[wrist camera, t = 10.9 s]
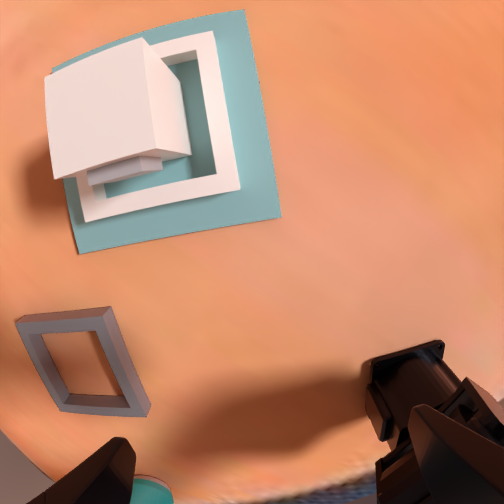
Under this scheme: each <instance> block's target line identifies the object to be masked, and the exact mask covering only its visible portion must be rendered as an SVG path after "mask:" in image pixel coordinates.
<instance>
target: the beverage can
mask: <svg viewBox="0 0 504 504" xmlns="http://www.w3.org/2000/svg"><path fill="white" fill-rule="evenodd" d="M130 504H173V497H172V493H171V490H170V488H169V486H168V485H167V484H166V483H164V482H163V481H161V480H159V479H157V478H154V477H150V476H145V475H136V476H134V481H133V490H132V496H131V501H130Z"/></svg>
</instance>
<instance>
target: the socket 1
mask: <svg viewBox="0 0 504 504" xmlns="http://www.w3.org/2000/svg"><path fill="white" fill-rule="evenodd" d="M15 325H16V327H17V329H18V332H19V334H20V336H21V339H22V341H23V343H24V345H25V347H26V349H27V352H28V354H29V356H30V358H31V360H32V362H33V364H34V366H35V368H36V370H37V372H38V373H39V375H40V377H41V379H42V381H43V383H44V384H45V386H46V388H47V390H48V392H49V393H50V395H51V397H52V398H53V400H54V402H55V403H56V405H57V407H58V408H59V410H60V411H62V412H70V413H79V414H90V415H103V416H121V417H147V415H148V413H149V410H150V407H151V403H150V401H149V399H148V397H147V395H146V393H145V390H144V388H143V386H142V384H141V382H140V379H139V377H138V375H137V372H136V370H135V368H134V365H133V363H132V360H131V358H130V356H129V353H128V351H127V348H126V346H125V343H124V340H123V338H122V335H121V333H120V330H119V327H118V324H117V322H116V319H115V316H114V313H113V310H112V307H111V306H110V307H101V308H92V309H83V310H74V311H64V312H54V313H43V314H33V315H24V316H23V317H22V318H21V319H19V320H18V321H17V322H16V323H15ZM83 331H96V333H97V336H98V338H99V341H100V343H101V346H102V348H103V351H104V353H105V355H106V358H107V360H108V362H109V364H110V367H111V369H112V371H113V373H114V375H115V377H116V380H117V382H118V384H119V386H120V388H121V390H122V392H123V394H124V396H102V395H81V394H70V393H69V391H68V389H67V387H66V386H65V384H64V382H63V380H62V378H61V376H60V374H59V372H58V370H57V368H56V366H55V364H54V362H53V360H52V358H51V356H50V354H49V352H48V350H47V348H46V345H45V343H44V341H43V339H42V336H41V334H47V333H67V332H83Z"/></svg>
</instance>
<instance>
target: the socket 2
mask: <svg viewBox="0 0 504 504" xmlns="http://www.w3.org/2000/svg"><path fill="white" fill-rule="evenodd" d="M141 37H143V39H144V40H145V41H146V42H147V43H148V44H149V46H150V47H151V48H152V49H153V50H154V51H155V53H156V54H157V55H158V56H159V57H160V58H161V60H162V61H163V62H164V63H165V64H166V65H167V67H168V68H169V69H170V70H171V71H172V73H173V74H174V75H175V76H176V77H177V79H178V80H179V81H180V82H181V87H182V93H183V100H184V106H185V113H186V119H187V125H188V131H189V137H190V143H191V149H192V155H191V156H187V157H182V158H177V159H173V160H169V161H164V162H162V167H163V170H161V171H157V172H152V173H148V174H144V175H140V176H136V177H132V178H128V179H125V180H121V181H117V182H110V183H104V184H98V185H92V186H89V183H88V178H87V176H79V177H71V178H63V184H64V189H65V195H66V200H67V205H68V209H69V214H70V218H71V223H72V227H73V231H74V235H75V239H76V243H77V247H78V251H79V254H83V253H88V252H92V251H97V250H102V249H107V248H112V247H117V246H122V245H127V244H133V243H138V242H143V241H148V240H153V239H159V238H164V237H170V236H175V235H180V234H186V233H192V232H197V231H203V230H208V229H214V228H220V227H226V226H232V225H238V224H244V223H250V222H256V221H262V220H268V219H274V218H281V217H282V216H281V210H280V203H279V196H278V190H277V184H276V177H275V171H274V165H273V159H272V153H271V147H270V141H269V135H268V129H267V124H266V118H265V112H264V107H263V101H262V96H261V90H260V85H259V80H258V74H257V69H256V64H255V59H254V54H253V49H252V44H251V39H250V34H249V29H248V25H247V20H246V15H245V10H236V11H229V12H223V13H217V14H212V15H206V16H201V17H197V18H192V19H188V20H183V21H179V22H175V23H171V24H167V25H164V26H160V27H156V28H153V29H150V30H146V31H143V32H140V33H137V34H134V35H131V36H128V37H125V38H122V39H119V40H116V41H114V42H111V43H108V44H106V45H103V46H101V47H98V48H96V49H93V50H91V51H89V52H86V53H84V54H82V55H79V56H77V57H75V58H73V59H71V60H68V61H66V62H64V63H62V64H60V65H58V66H56V67H54V68H52V73H54V72H56V71H58V70H60V69H63V68H65V67H67V66H69V65H71V64H73V63H75V62H78V61H80V60H82V59H84V58H87V57H89V56H91V55H94V54H96V53H99V52H101V51H104V50H106V49H109V48H112V47H114V46H117V45H120V44H123V43H126V42H128V41H131V40H134V39H138V38H141Z"/></svg>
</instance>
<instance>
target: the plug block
mask: <svg viewBox="0 0 504 504" xmlns="http://www.w3.org/2000/svg"><path fill="white" fill-rule="evenodd" d="M45 103H46V118H47V129H48V139H49V147H50V155H51V162H52V169H53V175H54V180H55V179H62V178H71V177H79V176H87V178H88V183H89V186H92V185H98V184H104V183H110V182H117V181H121V180H125V179H128V178H132V177H136V176H140V175H144V174H148V173H152V172H157V171H161V170H163V167H162V162H164V161H169V160H173V159H177V158H182V157H187V156H191V155H192V149H191V143H190V137H189V131H188V125H187V119H186V113H185V106H184V100H183V93H182V87H181V82H180V81H179V80H178V79H177V77H176V76H175V75H174V74H173V73H172V71H171V70H170V69H169V68H168V67H167V65H166V64H165V63H164V62H163V61H162V60H161V58H160V57H159V56H158V55H157V54H156V53H155V51H154V50H153V49H152V48H151V47H150V46H149V44H148V43H147V42H146V41H145V40H144V39H143V37H141V38H138V39H134V40H131V41H128V42H126V43H123V44H120V45H117V46H114V47H112V48H109V49H106V50H104V51H101V52H99V53H96V54H94V55H91V56H89V57H87V58H84V59H82V60H80V61H78V62H75V63H73V64H71V65H69V66H67V67H65V68H63V69H60V70H58V71H56V72H54V73H52V74H50V75H49V76H47V77H45Z"/></svg>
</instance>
